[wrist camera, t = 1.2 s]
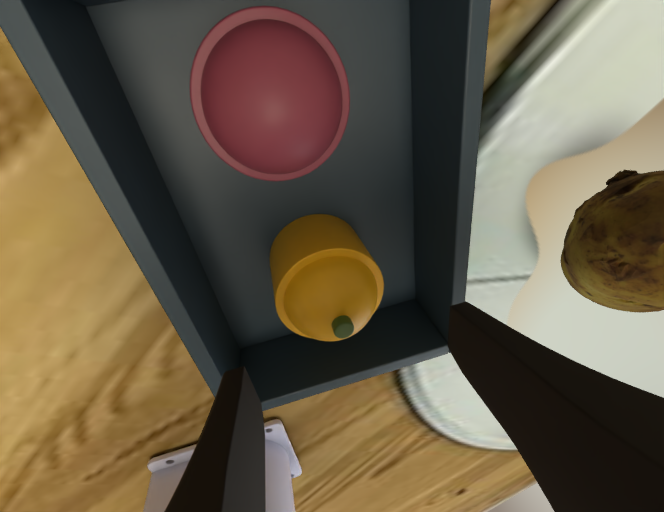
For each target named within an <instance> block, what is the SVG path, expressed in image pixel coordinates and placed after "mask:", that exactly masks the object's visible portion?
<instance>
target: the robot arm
mask: <svg viewBox="0 0 664 512" xmlns="http://www.w3.org/2000/svg"><path fill="white" fill-rule="evenodd" d="M448 348H449V350H450V352H451V354H452V355H453V357H454V359H455V361H456V363H457V364H458V366H459V368H460V369H461V371H462V373H463V374H464V376H465V377H466V378H467V380H468V381H469V383H470V384H471V385H472V387H473V388H474V389H475V391H476V392H477V394H478V395H479V396H480V398H481V399H482V400H483V402H484V403H485V404H486V406H487V407H488V408H489V410H490V411H491V412H492V414H493V415H494V417H495V418H496V419H497V421H498V422H499V423H500V425H501V426H502V427H503V429H504V430H505V431H506V433H507V434H508V436H509V437H510V439H511V440H512V442H513V443H514V445H515V446H516V448H517V449H518V451H519V453H520V454H521V456H522V458H523V459H524V461H525V462H526V464H527V466H528V467H529V469H530V471H531V472H532V474H533V475H534V477H535V479H536V481H537V482H538V484H539V486H540V487H541V489H542V491H543V493H544V494H545V496H546V498H547V499H548V501H549V503H550V504H551V506H552V508H553V510H554V511H555V512H664V398H662V397H660V396H657V395H654V394H652V393H649V392H647V391H644V390H641V389H639V388H636V387H633V386H631V385H628V384H626V383H623V382H621V381H618V380H616V379H613V378H611V377H609V376H606V375H604V374H601V373H599V372H597V371H595V370H593V369H590V368H588V367H586V366H584V365H581V364H579V363H577V362H575V361H573V360H570V359H569V358H567V357H565V356H563V355H561V354H559V353H557V352H555V351H553V350H550V349H549V348H547V347H545V346H543V345H541V344H539V343H537V342H536V341H534V340H532V339H530V338H528V337H526V336H524V335H523V334H521V333H519V332H517V331H516V330H514V329H512V328H510V327H509V326H507V325H505V324H504V323H502V322H500V321H498V320H497V319H495V318H493V317H492V316H490V315H488V314H487V313H485V312H483V311H482V310H480V309H478V308H477V307H475V306H473V305H471V304H470V303H468V302H462V303H459V304H455V305H452V306H450V312H449V330H448ZM147 467H148V469H149V470H150V471H151V472H152V475H151V479H150V484H149V488H148V492H147V497H146V501H145V506H144V510H143V512H295V505H294V497H293V488H292V478H295V477H297V476H299V475H301V473H302V470H301V466H300V464H299V461H298V459H297V457H296V454H295V452H294V449H293V447H292V445H291V442H290V440H289V438H288V435H287V433H286V430H285V428H284V426H283V423H282V421H281V420H278V419H275V420H271V421H268V422H265V423H264V421H263V412H262V404H261V401H260V399H259V397H258V395H257V393H256V391H255V388H254V386H253V384H252V382H251V380H250V377H249V375H248V373H247V371H246V369H245V367H244V366H242V367H239V368H235V369H232V370H229V371H225V373H224V374H223V376H222V379H221V382H220V385H219V388H218V391H217V394H216V397H215V400H214V402H213V405H212V408H211V410H210V413H209V416H208V418H207V421H206V423H205V426H204V428H203V430H202V433H201V435H200V438H199V440H198V443H197V444H195V445H192V446H189V447H186V448H182V449H179V450H176V451H173V452H170V453H167V454H163V455H160V456H157V457H154V458H152V459H150V460H149V462H148V466H147Z"/></svg>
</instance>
